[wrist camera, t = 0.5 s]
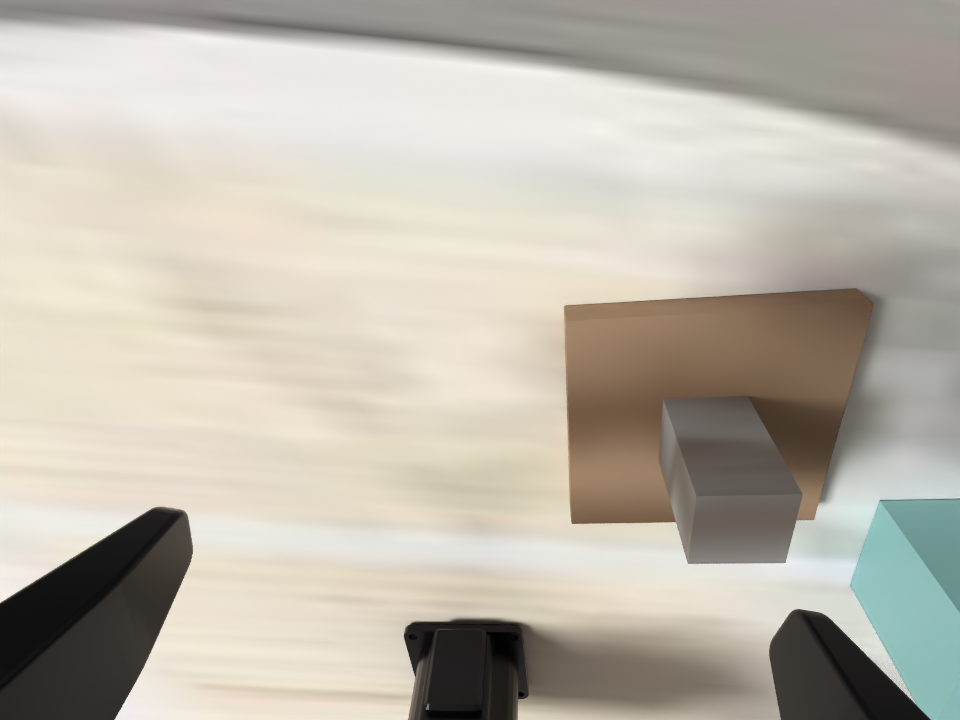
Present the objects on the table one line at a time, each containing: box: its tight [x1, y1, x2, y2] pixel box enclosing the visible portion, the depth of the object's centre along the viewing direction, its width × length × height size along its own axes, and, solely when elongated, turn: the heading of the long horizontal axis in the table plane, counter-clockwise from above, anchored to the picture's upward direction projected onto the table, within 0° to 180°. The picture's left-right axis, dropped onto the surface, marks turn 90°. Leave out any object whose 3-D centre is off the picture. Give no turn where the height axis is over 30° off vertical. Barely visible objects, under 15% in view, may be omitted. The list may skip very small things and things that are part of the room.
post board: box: [564, 289, 874, 564], centre depth 20 cm, size 10×10×6 cm
